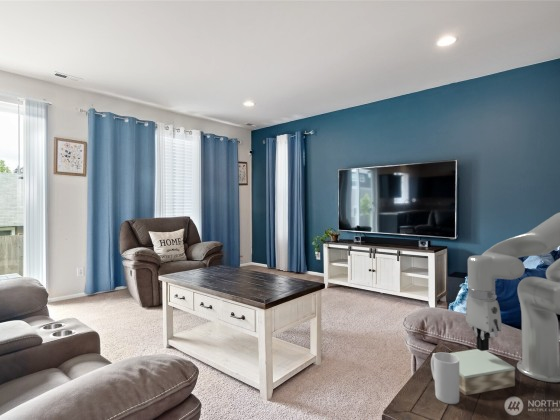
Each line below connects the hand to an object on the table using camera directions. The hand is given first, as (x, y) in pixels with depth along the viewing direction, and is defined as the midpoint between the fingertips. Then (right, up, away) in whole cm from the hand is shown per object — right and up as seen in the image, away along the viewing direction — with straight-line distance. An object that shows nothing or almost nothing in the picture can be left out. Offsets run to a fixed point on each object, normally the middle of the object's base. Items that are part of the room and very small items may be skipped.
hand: (482, 349), depth 106 cm
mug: (-17, -10, -9) cm, 22 cm away
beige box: (-4, -9, -2) cm, 10 cm away
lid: (-4, -4, -2) cm, 6 cm away
